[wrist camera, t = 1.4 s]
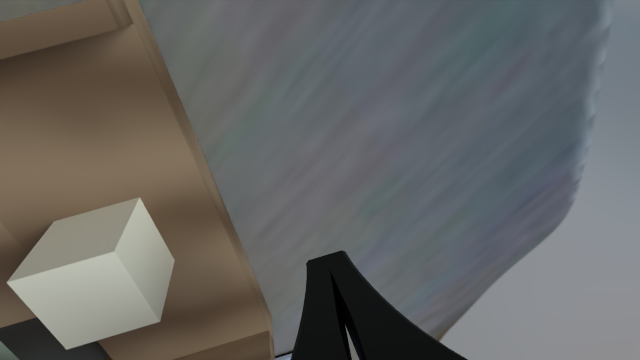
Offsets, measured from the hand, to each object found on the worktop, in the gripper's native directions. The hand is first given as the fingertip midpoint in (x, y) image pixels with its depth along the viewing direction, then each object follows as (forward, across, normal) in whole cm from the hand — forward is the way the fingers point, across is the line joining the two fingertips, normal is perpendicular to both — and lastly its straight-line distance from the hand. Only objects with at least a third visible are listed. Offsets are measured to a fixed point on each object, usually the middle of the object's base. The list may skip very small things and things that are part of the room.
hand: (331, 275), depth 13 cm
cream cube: (+6, +10, 0) cm, 11 cm away
